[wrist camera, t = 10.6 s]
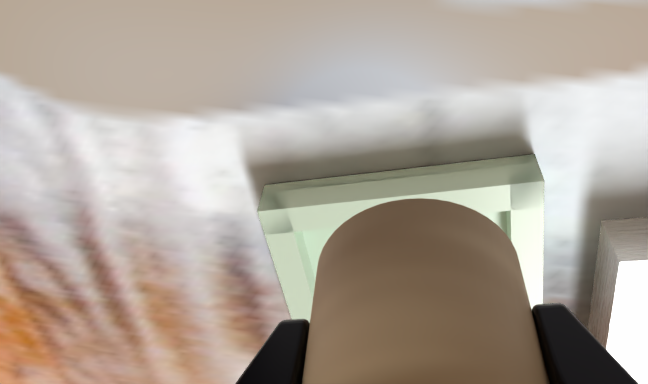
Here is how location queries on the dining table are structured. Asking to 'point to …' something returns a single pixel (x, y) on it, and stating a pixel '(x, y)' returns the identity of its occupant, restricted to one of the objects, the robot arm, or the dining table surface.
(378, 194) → the tray
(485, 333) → the dowel
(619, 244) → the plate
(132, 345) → the dining table surface
